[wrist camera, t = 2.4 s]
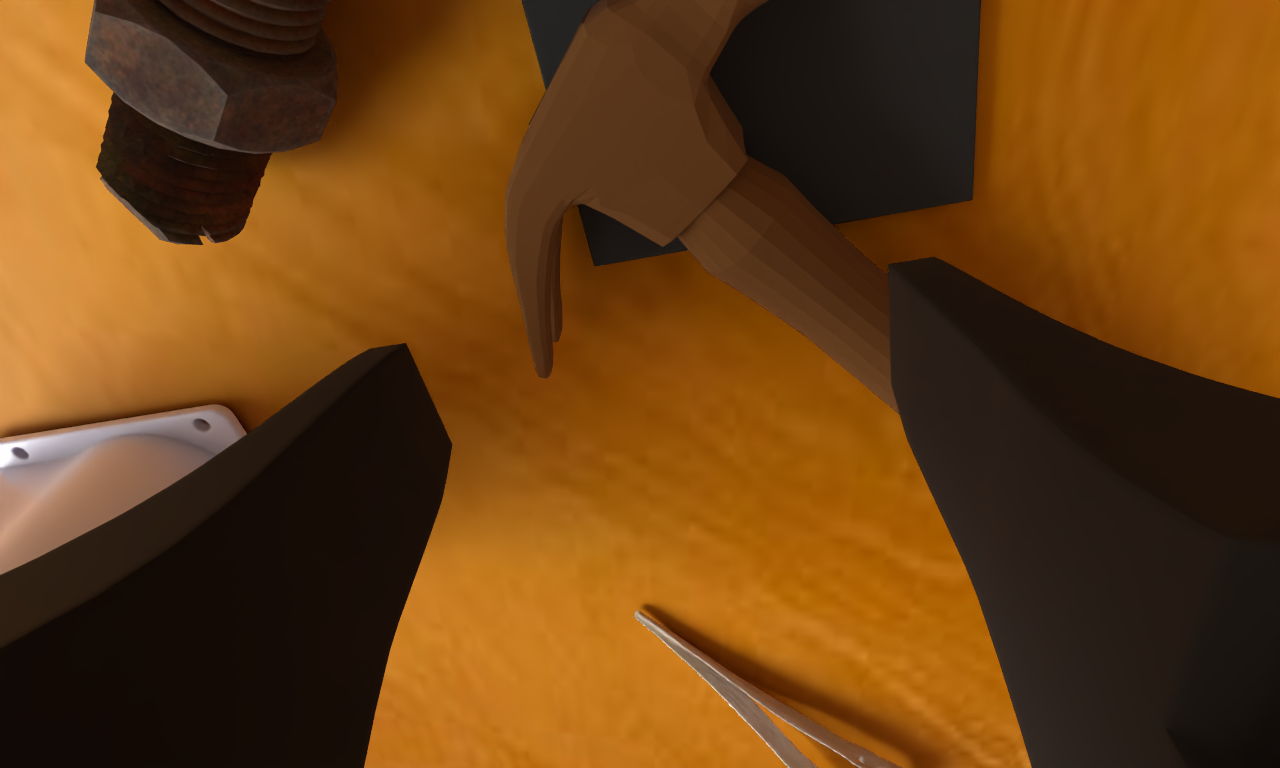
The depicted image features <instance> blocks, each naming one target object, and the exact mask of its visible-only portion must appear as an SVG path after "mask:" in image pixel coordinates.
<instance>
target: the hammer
mask: <svg viewBox="0 0 1280 768" xmlns="http://www.w3.org/2000/svg"><path fill="white" fill-rule="evenodd" d="M767 1H768V0H600V1H598V2H597V3H596V4H594V5H593V6H592V8H591V7H589V9H588V11H587V13H586V15H585V16H584V18H583V20H582V22H581V24H580V26H579V28H578V30H577V31H576V33H575V35H574V37H573V39H572V41H571V43H570V45H569V47H568V49H567V51H566V53H565V55H564V57H563V59H562V61H561V63H560V65H559V66H558V68H557V70H556V72H555V74H554V76H553V78H552V80H551V82H550V84H549V86H548V88H547V90H546V92H545V94H544V96H543V98H542V100H541V102H540V103H539V105H538V107H537V109H536V111H535V113H534V115H533V117H532V119H531V121H530V123H529V127H528V129H527V131H526V133H525V135H524V137H523V140H522V143H521V146H520V148H519V151H518V155H517V158H516V161H515V164H514V167H513V170H512V172H511V175H510V178H509V181H508V184H507V188H506V196H505V237H506V245H507V252H508V258H509V263H510V267H511V272H512V276H513V279H514V283H515V287H516V290H517V294H518V298H519V302H520V307H521V311H522V316H523V320H524V325H525V329H526V333H527V337H528V341H529V345H530V349H531V353H532V357H533V361H534V365H535V369H536V372H537V374H538V376H539V377H541V378H544V379H546V378H548V377H549V376H550V374H551V371H552V366H553V342H558V341H559V338H560V335H561V331H562V302H561V291H560V248H561V235H562V225H563V216H564V213H565V212H566V210H567V209H568V207H569V206H574V205H579V204H585V205H587V206H589V207H591V208H593V209H596V210H598V211H600V212H602V213H604V214H606V215H608V216H610V217H612V218H614V219H616V220H617V221H619V222H621V223H623V224H624V225H626V226H628V227H629V228H631V229H633V230H635V231H636V232H638V233H640V234H642V235H643V236H645V237H647V238H648V239H650V240H652V241H654V242H655V243H657V244H659V245H660V246H662V247H663V246H665V245H666V244H668V243H669V242H671V241H672V240H673V239H675V238H676V237H678V238H679V239H680V241H681V242H682V243H683V244H684V245H685V246H686V248H687V249H688V250H689V251H690V252H691V254H692V255H693V256H694V257H695V258H696V259H697V261H698V262H699V263H700V264H701V265H702V266H703V267H704V269H705V270H706V271H707V272H708V273H710V274H712V275H713V276H715V277H717V278H718V279H720V280H722V281H723V282H725V283H727V284H728V285H730V286H731V287H733V288H735V289H736V290H738V291H740V292H741V293H743V294H745V295H746V296H748V297H749V298H751V299H752V300H753V301H755V302H756V303H758V304H759V305H761V306H762V307H764V308H765V309H767V310H768V311H770V312H771V313H772V314H774V315H775V316H777V317H778V318H780V319H781V320H783V321H784V322H786V323H787V324H789V325H790V326H792V327H793V328H794V329H796V330H797V331H799V332H800V333H802V334H803V335H805V336H806V337H807V338H809V339H810V340H811V341H812V342H813V343H815V344H816V345H817V346H818V347H819V348H821V349H822V350H823V351H824V352H825V353H827V354H828V355H829V356H830V357H831V358H832V359H834V360H835V361H836V362H837V363H838V364H840V365H841V366H842V367H843V368H844V369H846V370H847V371H848V372H849V373H850V374H852V375H853V376H854V377H855V378H856V379H858V380H859V381H860V382H861V383H862V384H864V385H865V386H866V387H867V388H868V389H870V390H871V391H872V392H873V393H874V394H875V395H877V396H878V397H879V398H880V399H881V400H883V401H884V402H885V403H886V404H887V405H889V406H890V407H891V408H892V409H893V410H895V411H896V412H897V413H898V414H899V410H898V407H897V403H896V400H895V396H894V393H893V389H892V386H891V365H890V321H889V277H888V275H887V274H886V273H885V272H884V271H882V270H881V269H880V268H878V267H877V266H876V265H875V264H873V263H872V262H871V261H870V260H869V259H868V258H866V257H865V256H864V255H863V254H862V253H861V252H860V251H859V250H858V249H857V248H856V247H855V246H854V245H853V244H852V243H851V242H850V241H849V240H848V239H847V238H846V237H845V236H844V235H843V234H842V233H840V232H839V231H838V230H837V229H836V228H835V227H834V226H833V225H832V224H831V223H830V222H829V221H828V220H827V219H826V218H825V217H824V216H823V215H822V214H821V213H820V212H819V211H818V210H817V209H815V207H814V206H813V205H812V204H811V203H810V202H809V201H808V200H807V199H806V198H805V197H804V196H803V195H802V194H801V192H800V191H799V190H798V189H797V188H796V187H795V186H794V185H793V184H792V183H791V182H790V181H789V180H788V179H787V177H786V176H785V175H784V174H782V173H780V172H778V171H776V170H774V169H773V168H771V167H769V166H767V165H765V164H763V163H761V162H760V161H758V160H756V159H754V158H752V157H750V156H748V155H747V154H746V150H745V146H744V139H743V128H742V126H741V124H740V123H739V121H738V119H737V118H736V116H735V115H734V113H733V112H732V110H731V109H730V107H729V105H728V104H727V102H726V101H725V99H724V98H723V96H722V94H721V93H720V91H719V89H718V88H717V86H716V84H715V82H714V81H713V79H712V77H711V76H710V71H711V69H712V67H713V66H714V64H715V62H716V60H717V59H718V57H719V55H720V53H721V51H722V50H723V48H724V46H725V44H726V42H727V41H728V39H729V37H730V35H731V33H732V32H733V30H734V29H735V27H736V26H737V25H738V23H739V22H740V21H741V20H742V19H743V18H744V17H745V16H747V15H748V14H749V13H751V12H752V11H753V10H755V9H756V8H757V7H759V6H760V5H762V4H764V3H765V2H767ZM899 415H900V414H899Z"/></svg>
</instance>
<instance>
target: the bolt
mask: <svg viewBox="0 0 1280 768" xmlns="http://www.w3.org/2000/svg"><path fill="white" fill-rule="evenodd" d="M329 3H330V0H95V1H94V6H93V12H92V18H91V23H90V30H89V36H88V42H87V49H86V55H85V63H86V64H87V65H88V66H89V67H90V68H91V69H92V70H93V71H94V72H95V73H96V74H97V75H98V76H99V77H100V79H101V80H102V81H103V82H104V83H105V84H106V85H107V86H108V87H109V88H110V89H111V90H112V91H113V92H114V93H113V95H112V98H111V100H112V104H111V106H110V109H109V111H108V112H109V118H108V121H107V124H106V127H105V128H106V130H105V133H104V135H103V139H104V141H103V143H102V144H101V153H100V155H99V158H98V163H97V166H96V168H97V169H98V171H99V172H100V173H101V175H102V177H101V178H100V179H101V180H102V182H103V183H104V185H105V186H106V188H107V189H108V190H109V191H110V192H111V193H112V194H113V195H114V196H115V197H116V198H117V199H118V200H119V201H120V202H121V203H122V204H123V205H124V206H125V207H126V208H127V209H128V210H129V211H130V212H131V213H132V214H133V215H135V216H136V217H137V218H138V219H139V220H140V221H141V222H142V223H143V224H144V225H145V226H146V227H147V228H148V229H149V230H150V231H151V232H153V233H154V234H155V235H156V236H157V237H158V238H159V239H160V240H163V241H167V242H171V243H175V244H192V245H203V243H202V242H201V240H200V238H199V236H198V235H201V236H206V237H207V238H208V239H209V240H210V241H211V242H213V243H219V242H224V241H228V240H229V239H231V238H233V237H234V236H236V235H238V234H239V233H240V232H241V231H242V229H243V228H244V226H245V223H246V219H247V218H248V216H249V213H250V208H251V207H252V204H253V199H254V197H255V195H256V192H257V190H258V188H259V186H260V181H261V178H262V177H263V176H264V171H265V168H266V166H267V163H268V161H269V159H270V156H271V155H272V153H273V152H284V151H288V150H292V149H295V148H298V147H302V146H305V145H308V144H311V143H314V142H317V141H320V139H321V136H322V134H323V132H324V129H325V127H326V125H327V122H328V120H329V118H330V115H331V113H332V110H333V108H334V106H335V103H336V101H337V81H338V74H337V57H336V54H335V51H334V48H333V46H332V44H331V42H330V41H329V39H328V37H327V36H326V35H325V33H324V32H323V31H322V29H321V28H320V27H321V20H322V19H323V18H324V16H325V14H326V6H327V5H328V4H329Z"/></svg>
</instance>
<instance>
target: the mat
mask: <svg viewBox="0 0 1280 768" xmlns="http://www.w3.org/2000/svg"><path fill="white" fill-rule="evenodd" d="M598 1H600V0H522V4H523V8H524V11H525V15H526V19H527V22H528V26H529V29H530V33H531V37H532V40H533V44H534V48H535V51H536V55H537V59H538V62H539V66H540V70H541V73H542V77H543V81H544V84H545V88H546V90H547V88H548V86H549V84H550V82H551V80H552V78H553V76H554V74H555V72H556V70H557V68H558V66H559V65H560V63H561V61H562V59H563V57H564V55H565V53H566V51H567V49H568V47H569V45H570V43H571V41H572V39H573V37H574V35H575V33H576V31H577V30H578V28H579V26H580V24H581V22H582V20H583V18H584V16H585V15H586V13H587V11H588V9H589V7H591V8H592V6H593V5H594V4H596V3H597V2H598ZM980 11H981V0H768V1H767V2H765V3H764V4H762V5H760V6H759V7H757V8H756V9H755V10H753V11H752V12H751V13H749V14H748V15H747V16H745V17H744V18H743V19H742V20H741V21H740V22H739V23H738V25H737V26H736V27H735V29H734V30H733V32H732V33H731V35H730V37H729V39H728V41H727V42H726V44H725V46H724V48H723V50H722V51H721V53H720V55H719V57H718V59H717V60H716V62H715V64H714V66H713V67H712V69H711V71H710V76H711V77H712V79H713V81H714V82H715V84H716V86H717V88H718V89H719V91H720V93H721V94H722V96H723V98H724V99H725V101H726V102H727V104H728V105H729V107H730V109H731V110H732V112H733V113H734V115H735V116H736V118H737V119H738V121H739V123H740V124H741V126H742V128H743V139H744V146H745V150H746V154H747V155H748V156H750V157H752V158H754V159H756V160H758V161H760V162H761V163H763V164H765V165H767V166H769V167H771V168H773V169H774V170H776V171H778V172H780V173H782V174H784V175H785V176H786V177H787V179H788V180H789V181H790V182H791V183H792V184H793V185H794V186H795V187H796V188H797V189H798V190H799V191H800V192H801V194H802V195H803V196H804V197H805V198H806V199H807V200H808V201H809V202H810V203H811V204H812V205H813V206H814V207H815V209H817V210H818V211H819V212H820V213H821V214H822V215H823V216H824V217H825V218H826V219H827V220H828V221H829V222H830V223H831V224H832V225H833V224H839V223H845V222H850V221H856V220H862V219H867V218H873V217H879V216H884V215H890V214H896V213H901V212H907V211H913V210H918V209H924V208H930V207H935V206H941V205H947V204H952V203H958V202H964V201H969V200H972V199H973V180H974V156H975V132H976V108H977V83H978V59H979V35H980ZM578 208H579V212H580V216H581V219H582V223H583V227H584V230H585V234H586V238H587V241H588V245H589V249H590V252H591V256H592V259H593V263H594V266H601V265H607V264H612V263H618V262H624V261H629V260H635V259H641V258H646V257H652V256H658V255H663V254H669V253H675V252H680V251H686V250H688V249H687V248H686V246H685V245H684V244H683V243H682V242H681V241H680V239H679V238H678V237H676V238H675V239H673V240H672V241H671V242H669V243H668V244H666V245H665V246H663V247H662V246H660V245H659V244H657V243H655V242H654V241H652V240H650V239H648V238H647V237H645V236H643V235H642V234H640V233H638V232H636V231H635V230H633V229H631V228H629V227H628V226H626V225H624V224H623V223H621V222H619V221H617V220H616V219H614V218H612V217H610V216H608V215H606V214H604V213H602V212H600V211H598V210H596V209H593V208H591V207H589V206H587V205H585V204H579V205H578Z"/></svg>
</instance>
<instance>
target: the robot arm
mask: <svg viewBox="0 0 1280 768" xmlns="http://www.w3.org/2000/svg"><path fill="white" fill-rule="evenodd" d="M888 277H889V321H890V365H891V386H892V389H893V393H894V396H895V400H896V403H897V407H898V410H899V414H900V417H901V420H902V424H903V427H904V430H905V433H906V437H907V440H908V442H909V445H910V447H911V449H912V451H913V454H914V456H915V458H916V460H917V462H918V465H919V467H920V469H921V471H922V473H923V476H924V478H925V480H926V482H927V484H928V487H929V489H930V491H931V493H932V495H933V497H934V500H935V502H936V504H937V506H938V508H939V510H940V512H941V515H942V517H943V519H944V521H945V523H946V525H947V528H948V530H949V532H950V534H951V536H952V538H953V541H954V543H955V545H956V547H957V549H958V551H959V554H960V556H961V558H962V560H963V562H964V564H965V567H966V569H967V572H968V574H969V577H970V579H971V582H972V584H973V586H974V589H975V591H976V594H977V597H978V599H979V602H980V606H981V609H982V612H983V615H984V618H985V621H986V624H987V627H988V630H989V633H990V636H991V639H992V642H993V645H994V648H995V651H996V654H997V657H998V660H999V663H1000V666H1001V669H1002V672H1003V675H1004V679H1005V682H1006V685H1007V688H1008V691H1009V694H1010V698H1011V701H1012V704H1013V707H1014V710H1015V713H1016V717H1017V720H1018V723H1019V726H1020V729H1021V733H1022V736H1023V739H1024V743H1025V746H1026V749H1027V753H1028V756H1029V759H1030V763H1031V766H1032V768H1280V399H1279V398H1275V397H1272V396H1268V395H1264V394H1260V393H1257V392H1253V391H1249V390H1245V389H1242V388H1238V387H1234V386H1231V385H1227V384H1224V383H1220V382H1217V381H1214V380H1210V379H1207V378H1204V377H1200V376H1197V375H1194V374H1191V373H1188V372H1185V371H1182V370H1179V369H1176V368H1174V367H1171V366H1168V365H1165V364H1162V363H1159V362H1156V361H1154V360H1151V359H1148V358H1145V357H1142V356H1139V355H1136V354H1134V353H1131V352H1129V351H1126V350H1123V349H1121V348H1118V347H1116V346H1113V345H1111V344H1108V343H1106V342H1104V341H1101V340H1099V339H1097V338H1095V337H1092V336H1090V335H1088V334H1085V333H1083V332H1081V331H1079V330H1076V329H1074V328H1072V327H1070V326H1067V325H1065V324H1063V323H1061V322H1059V321H1057V320H1055V319H1052V318H1050V317H1048V316H1046V315H1044V314H1042V313H1040V312H1038V311H1036V310H1034V309H1032V308H1030V307H1028V306H1026V305H1024V304H1022V303H1020V302H1019V301H1017V300H1015V299H1013V298H1011V297H1009V296H1007V295H1005V294H1003V293H1002V292H1000V291H998V290H996V289H994V288H992V287H991V286H989V285H987V284H985V283H983V282H981V281H980V280H978V279H976V278H974V277H972V276H971V275H969V274H967V273H965V272H963V271H961V270H960V269H958V268H956V267H954V266H952V265H950V264H948V263H946V262H944V261H942V260H940V259H938V258H936V257H930V258H924V259H918V260H911V261H905V262H899V263H893V264H888ZM202 419H203V420H205V421H206V422H207V423H206V422H204V421H203V420H202ZM451 450H452V442H451V440H450V438H449V436H448V434H447V431H446V429H445V427H444V425H443V423H442V421H441V418H440V416H439V414H438V412H437V410H436V407H435V405H434V403H433V401H432V399H431V396H430V394H429V392H428V390H427V388H426V385H425V383H424V381H423V379H422V377H421V375H420V372H419V370H418V368H417V366H416V364H415V361H414V359H413V357H412V355H411V353H410V350H409V348H408V346H407V344H406V343H402V344H396V345H390V346H384V347H378V348H371V349H368V350H367V351H365V352H363V353H361V354H359V355H357V356H356V357H354V358H352V359H351V360H349V361H348V362H346V363H345V364H343V365H342V366H340V367H339V368H337V369H336V370H334V371H333V372H332V373H330V374H329V375H327V376H326V377H325V378H323V379H322V380H320V381H319V382H318V383H316V384H315V385H314V386H312V387H311V388H309V389H308V390H307V391H305V392H304V393H303V394H301V395H300V396H299V397H297V398H296V399H295V400H293V401H292V402H290V403H289V404H288V405H286V406H285V407H284V408H282V409H281V410H280V411H278V412H277V413H276V414H274V415H273V416H271V417H270V418H269V419H267V420H266V421H265V422H263V423H262V424H261V425H259V426H258V427H256V428H255V429H253V430H252V431H251V432H249V433H248V434H247V433H246V432H245V430H244V429H243V427H242V426H241V424H240V422H239V421H238V419H237V418H236V416H235V415H234V414H233V412H232V411H231V410H230V409H228V408H226V407H225V406H222V405H215V404H212V405H206V406H200V407H193V408H187V409H181V410H175V411H168V412H162V413H156V414H150V415H143V416H137V417H131V418H125V419H118V420H112V421H106V422H99V423H93V424H87V425H81V426H74V427H68V428H62V429H56V430H49V431H43V432H37V433H30V434H24V435H18V436H12V437H5V438H0V768H364V765H365V760H366V755H367V750H368V745H369V740H370V735H371V730H372V725H373V720H374V716H375V711H376V707H377V702H378V698H379V694H380V690H381V686H382V681H383V677H384V673H385V669H386V665H387V660H388V656H389V652H390V648H391V645H392V642H393V639H394V636H395V632H396V629H397V626H398V623H399V620H400V617H401V614H402V612H403V609H404V606H405V603H406V600H407V598H408V595H409V592H410V589H411V587H412V584H413V581H414V578H415V576H416V573H417V570H418V567H419V564H420V562H421V559H422V556H423V553H424V551H425V548H426V545H427V542H428V539H429V537H430V534H431V531H432V528H433V525H434V522H435V519H436V517H437V514H438V511H439V508H440V505H441V501H442V498H443V493H444V489H445V484H446V479H447V474H448V468H449V462H450V456H451Z"/></svg>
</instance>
